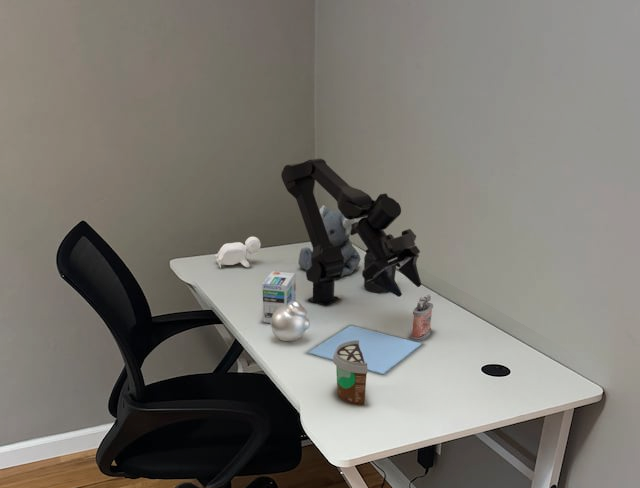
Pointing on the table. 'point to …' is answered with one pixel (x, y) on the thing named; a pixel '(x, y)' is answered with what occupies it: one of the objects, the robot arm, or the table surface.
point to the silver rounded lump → (290, 321)
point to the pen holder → (372, 286)
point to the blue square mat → (369, 348)
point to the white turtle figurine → (237, 252)
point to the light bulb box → (277, 292)
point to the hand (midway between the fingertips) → (410, 290)
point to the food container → (350, 372)
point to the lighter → (422, 319)
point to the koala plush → (335, 240)
